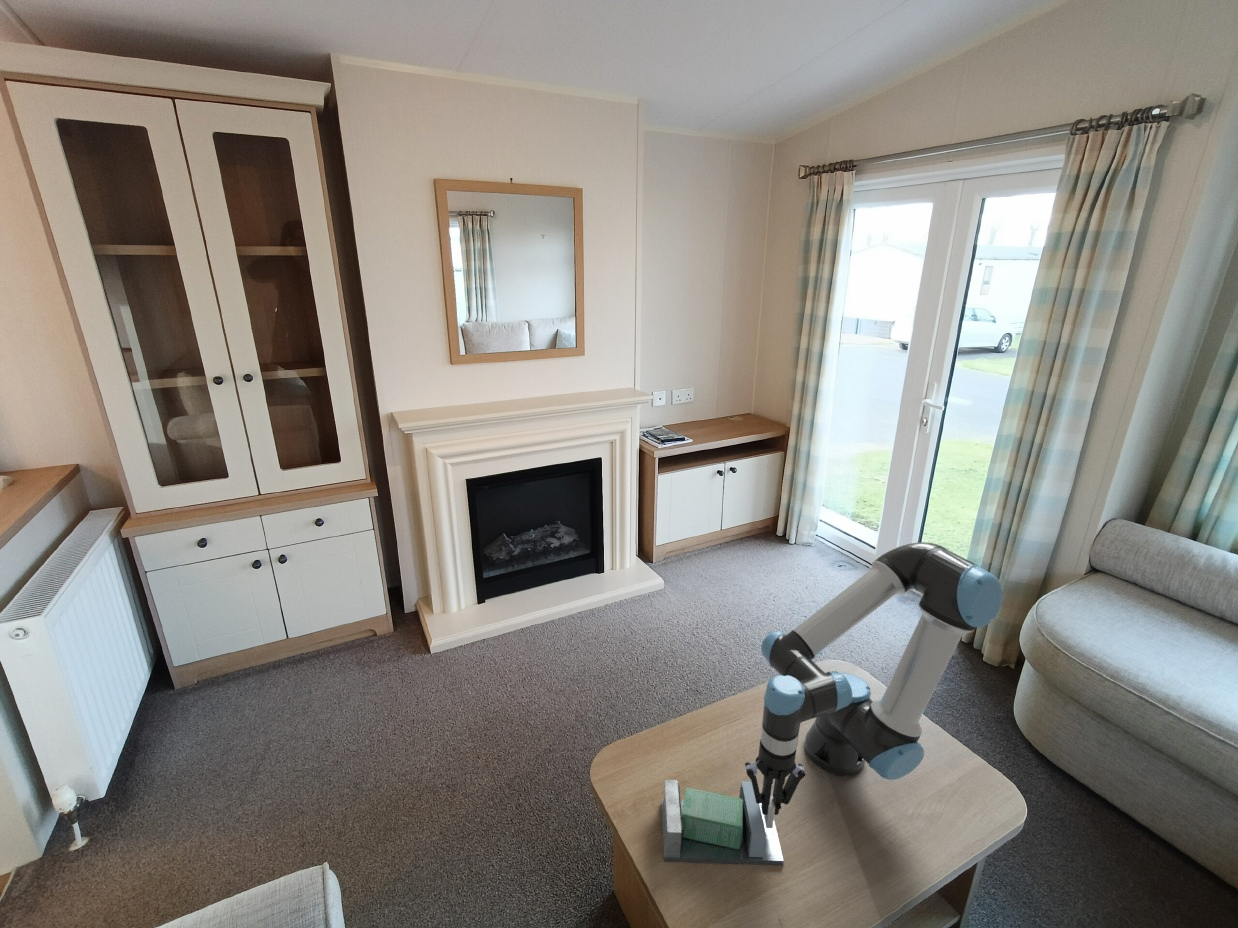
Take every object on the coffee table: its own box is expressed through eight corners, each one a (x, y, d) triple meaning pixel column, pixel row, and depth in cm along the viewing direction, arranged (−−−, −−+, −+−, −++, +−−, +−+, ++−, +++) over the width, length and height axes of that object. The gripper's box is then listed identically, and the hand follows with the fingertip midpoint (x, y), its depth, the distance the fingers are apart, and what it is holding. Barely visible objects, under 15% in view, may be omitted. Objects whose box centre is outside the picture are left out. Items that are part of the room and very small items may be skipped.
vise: (769, 807, 137) (772, 780, 134) (783, 865, 124) (787, 837, 121) (661, 803, 138) (662, 777, 135) (664, 861, 125) (665, 834, 122)
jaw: (751, 803, 136) (754, 781, 134) (763, 857, 124) (766, 834, 121) (737, 802, 136) (739, 781, 134) (747, 856, 124) (750, 833, 122)
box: (741, 850, 125) (743, 826, 123) (679, 838, 128) (681, 814, 125) (741, 820, 132) (743, 796, 130) (683, 809, 135) (684, 785, 132)
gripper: (803, 729, 124) (792, 808, 132) (744, 728, 125) (737, 806, 133) (813, 758, 117) (801, 839, 125) (751, 756, 118) (742, 837, 126)
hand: (768, 822), depth 129 cm, fingers closed
